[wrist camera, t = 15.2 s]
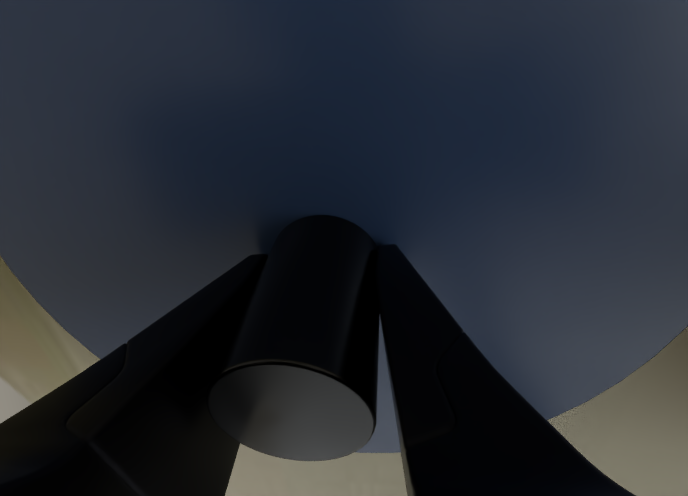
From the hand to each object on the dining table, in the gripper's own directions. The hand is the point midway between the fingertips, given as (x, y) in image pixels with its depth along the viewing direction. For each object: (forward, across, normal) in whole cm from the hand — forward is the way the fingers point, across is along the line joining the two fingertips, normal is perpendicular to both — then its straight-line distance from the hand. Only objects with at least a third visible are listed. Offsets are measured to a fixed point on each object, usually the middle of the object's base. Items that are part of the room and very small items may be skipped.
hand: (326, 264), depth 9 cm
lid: (+1, 0, 0) cm, 1 cm away
